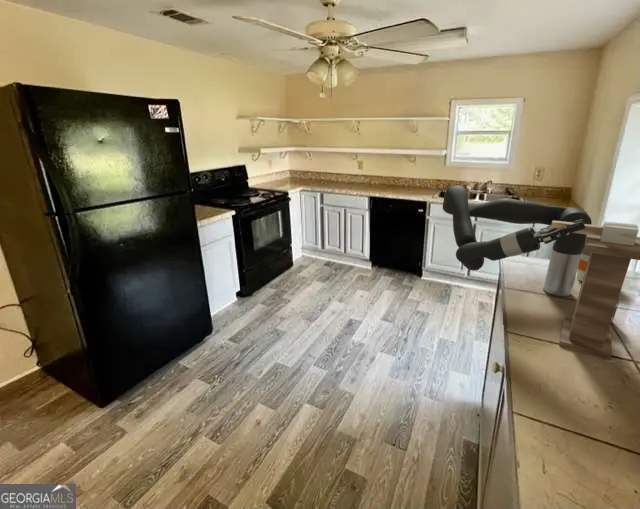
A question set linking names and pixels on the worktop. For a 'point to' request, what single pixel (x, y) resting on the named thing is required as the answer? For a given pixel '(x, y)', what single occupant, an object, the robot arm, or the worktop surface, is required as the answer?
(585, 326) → the stand
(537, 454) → the worktop surface
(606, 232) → the grey and beige bar
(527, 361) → the worktop surface
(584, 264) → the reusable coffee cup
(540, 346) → the worktop surface
